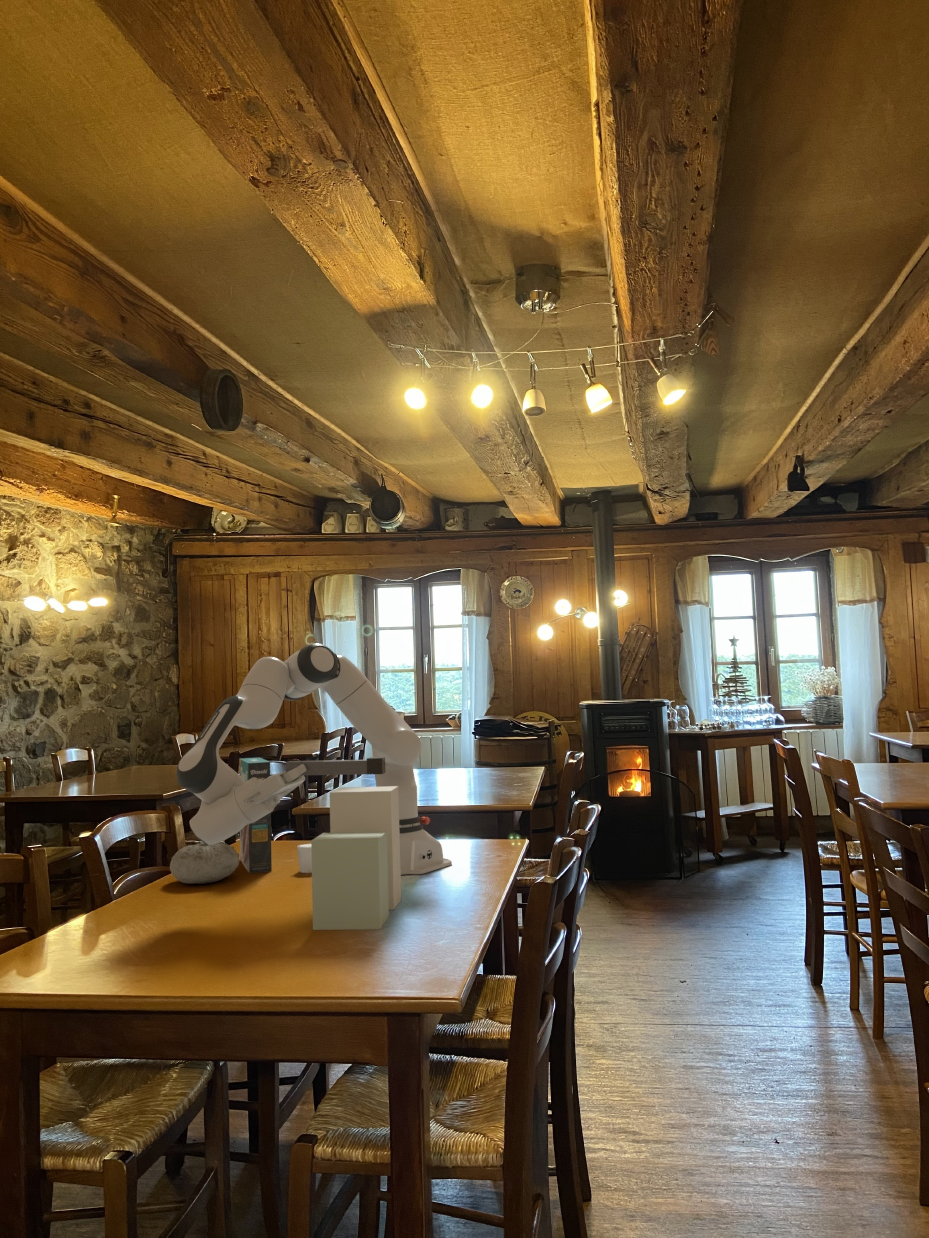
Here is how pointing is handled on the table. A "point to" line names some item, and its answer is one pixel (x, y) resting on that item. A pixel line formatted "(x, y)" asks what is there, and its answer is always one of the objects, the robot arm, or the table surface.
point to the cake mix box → (256, 823)
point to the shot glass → (305, 858)
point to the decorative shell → (204, 863)
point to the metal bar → (341, 766)
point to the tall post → (371, 823)
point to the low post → (350, 881)
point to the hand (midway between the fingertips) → (308, 765)
